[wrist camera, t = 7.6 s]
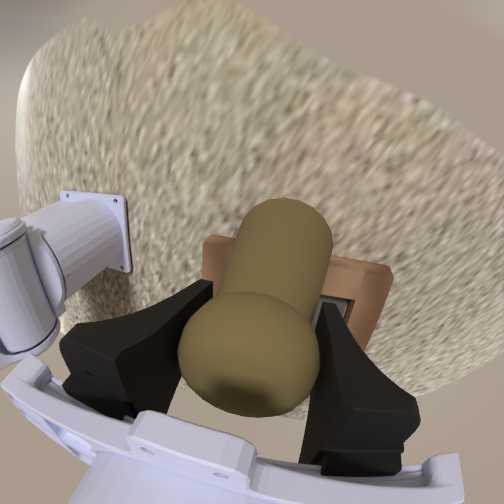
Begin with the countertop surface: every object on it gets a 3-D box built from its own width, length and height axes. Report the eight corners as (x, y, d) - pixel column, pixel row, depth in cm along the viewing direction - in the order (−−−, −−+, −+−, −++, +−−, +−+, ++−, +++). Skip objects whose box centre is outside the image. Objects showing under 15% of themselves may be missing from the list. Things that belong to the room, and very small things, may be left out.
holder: (209, 358, 30) (203, 370, 29) (211, 234, 24) (202, 243, 22) (340, 383, 28) (340, 397, 26) (388, 266, 21) (394, 277, 20)
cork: (314, 294, 19) (292, 446, 10) (230, 267, 20) (156, 402, 10) (347, 216, 16) (364, 372, 7) (248, 185, 16) (148, 302, 7)
